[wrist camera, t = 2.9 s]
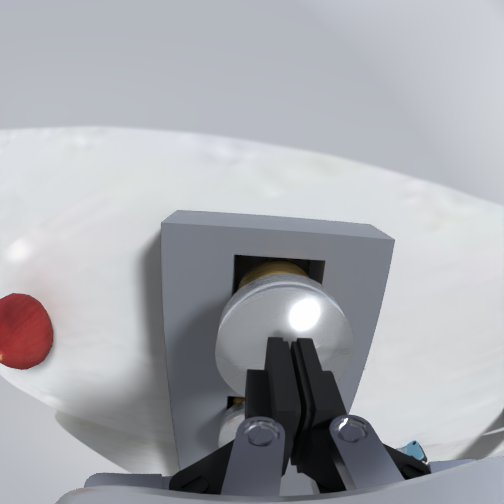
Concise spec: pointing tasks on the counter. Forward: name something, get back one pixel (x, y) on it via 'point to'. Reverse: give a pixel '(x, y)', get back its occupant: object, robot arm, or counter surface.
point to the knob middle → (232, 421)
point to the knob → (279, 322)
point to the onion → (23, 331)
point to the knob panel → (222, 289)
